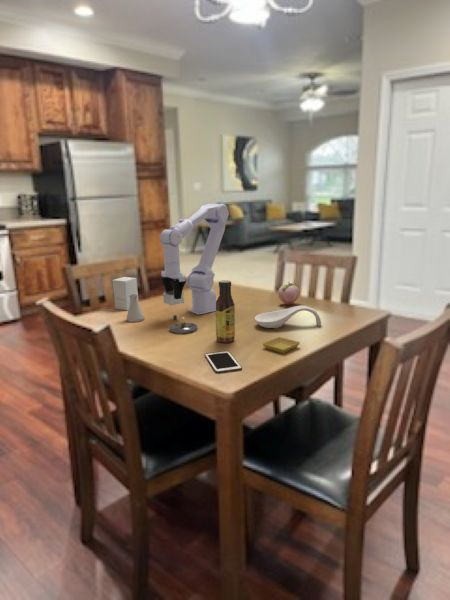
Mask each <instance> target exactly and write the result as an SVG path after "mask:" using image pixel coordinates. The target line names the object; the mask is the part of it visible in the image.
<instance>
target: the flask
mask: <svg viewBox="0 0 450 600" xmlns="http://www.w3.org/2000/svg"><path fill="white" fill-rule="evenodd" d="M137 295H138V296H139V293H138V294H130V295H129V297H130V307H129V310H127V311H128V312H127V315H126V319H125V321H126V322H130V323H135V322H141V321H144V320H145V315H144V314H143V312H142V309H141V307H140V305H139V304H140V303H139V304H138V302H139V300H138V301H137Z"/></svg>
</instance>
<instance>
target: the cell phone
mask: <svg viewBox="0 0 450 600" xmlns="http://www.w3.org/2000/svg"><path fill="white" fill-rule="evenodd" d="M204 358H205V359H206V360H207V362H208V364H209V366H211V368H212V370H213V372H214V373H215V374H223V373H224V374H225V373H229V372H230V373H231V372H239V371H243V367H242V365H241V364H240V363H239V361H237V359H236V358H235V356H233V354H232V353H231V352H230V351H229V350H223V351H222V350H221V351H214V352H206V353H205V354H204Z"/></svg>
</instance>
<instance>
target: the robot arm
mask: <svg viewBox="0 0 450 600" xmlns="http://www.w3.org/2000/svg"><path fill="white" fill-rule="evenodd" d="M229 216H230V213H229V210H228V206H227V205H226V204H225V203H205V204H203V205H202V206H200V208H199V209H198V210H197V211H196V212H195V213H194V214H192V215H191V216H190V217H189V218H179V219H178V222H177V223H176V224H174V225H171V226H170V228H168V229H167V228H166V229H164V230H163V231H161V233H160V235H159V238H158V240H159V243H160V244H161V246H162V250H163V263H164V264H163V265H164V270H161V271H160V272H161V273H160V274H161V278H160V282H161V283H162V285H163V287H164V290H165V292H169V291H174V296H175V299H181V295H182V292H183V290H184V287H185V285H186V283H187V285H188V287H189V289H190V290H191V300H192V302H191V305H192V308H190V309H188V310H187V311H189V312H191V313H193V314H196V315H199V316H200V315H204V314H207V313H213V312H216V301H217V294H216V293H217V292H216V291H215V289H213V286H214V279H215V273H214V271H213V269H212V268H213V266H214V262H215V259H216V257H217V254H218V251H219V248H220V244H221V241H222V238H223V235H224V233H225V230H226V225H227V222H228V218H229ZM203 221H205V222H206V224H207V226H208V227H209V228H210V229H209V233H208V236H207V239H206V241H205V245H204V248H203V250H202V253H201V256H200V259H199V262H198V264H197V265H195V266H194V267H193V268H192V270H191V272H190V273H189V274H188V276H187V278H186V276H185V275H183V274H182V273H181V262H180V261H181V260H180V246H179V245H181V243H182V240H184V238H185V237H186V236H188V235H189V234H191V233H192V232H193V229H194V227H195V226H196V225H198V224H200V223H201V222H203Z"/></svg>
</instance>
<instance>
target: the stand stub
mask: <svg viewBox="0 0 450 600" xmlns="http://www.w3.org/2000/svg"><path fill="white" fill-rule="evenodd" d="M172 318H173V319H172V320H174V321H177V320H178V316H177V315H176V314H174V315H172Z"/></svg>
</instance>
